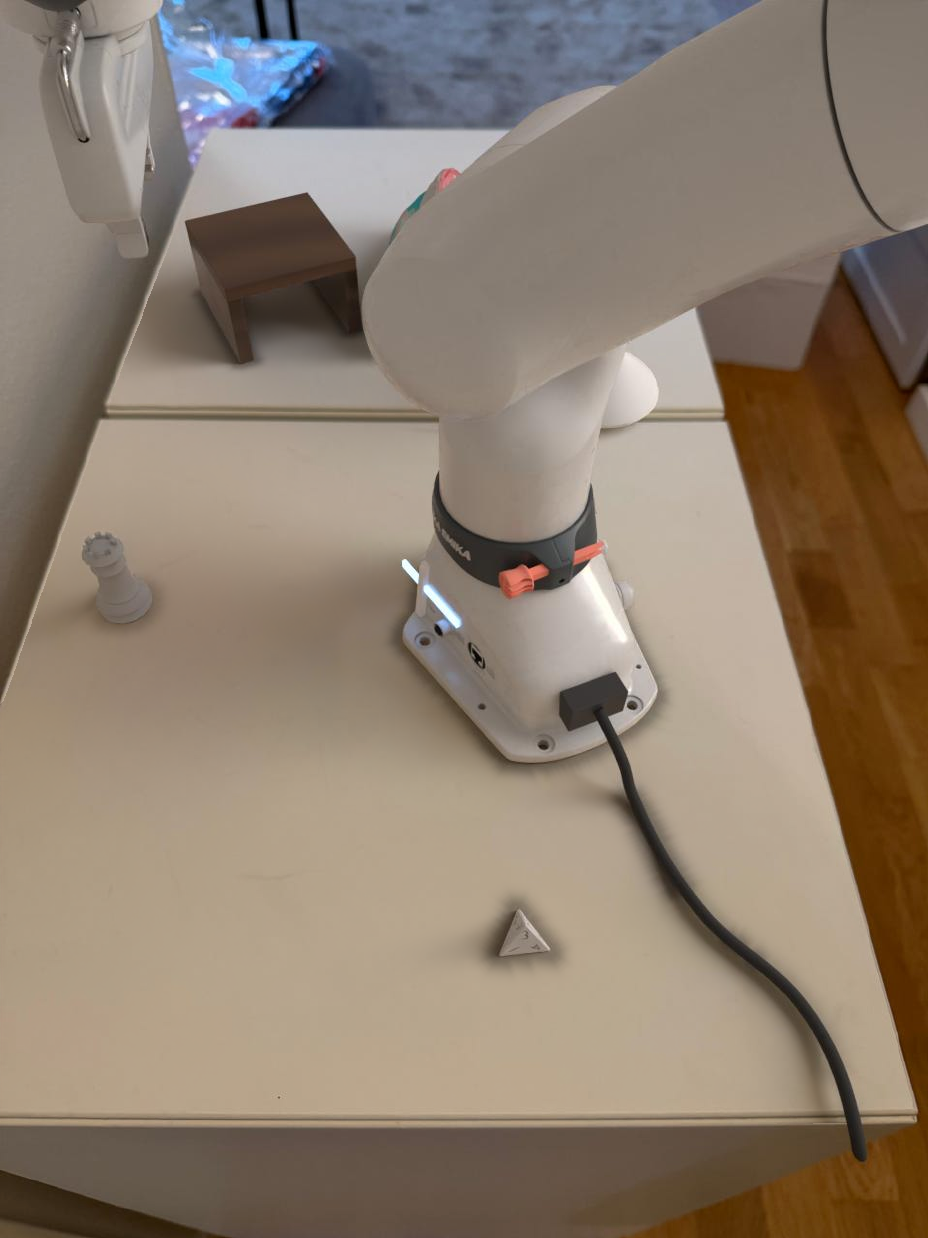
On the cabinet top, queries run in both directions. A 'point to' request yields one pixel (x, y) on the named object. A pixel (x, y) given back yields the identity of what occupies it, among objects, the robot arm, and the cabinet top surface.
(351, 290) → the shelf
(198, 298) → the cabinet top surface
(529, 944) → the tetrahedral die
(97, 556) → the rook chess piece
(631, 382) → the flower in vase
